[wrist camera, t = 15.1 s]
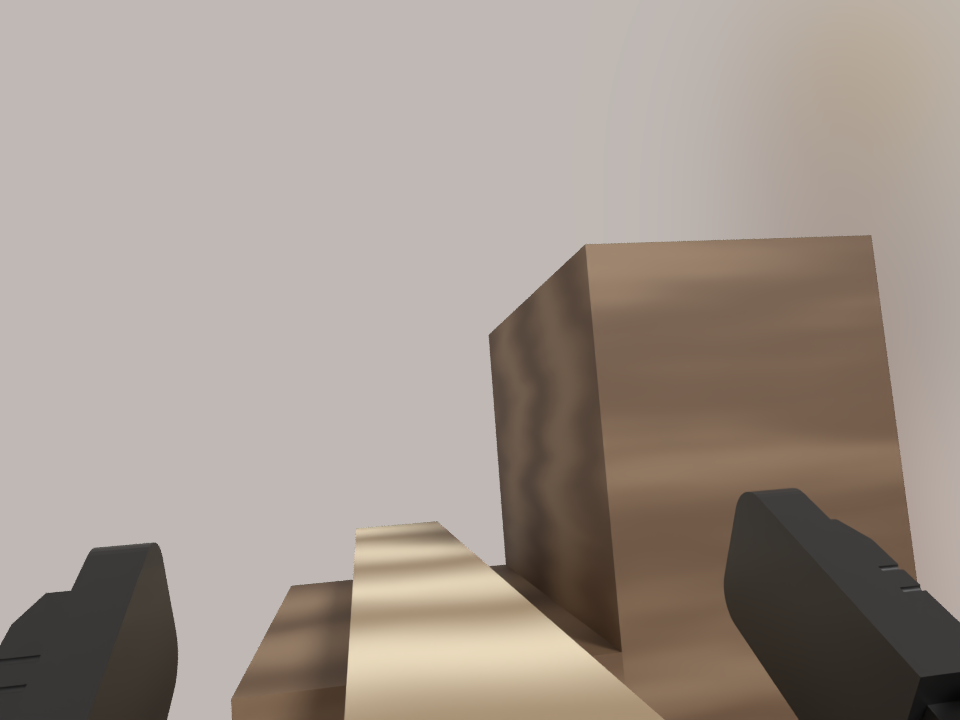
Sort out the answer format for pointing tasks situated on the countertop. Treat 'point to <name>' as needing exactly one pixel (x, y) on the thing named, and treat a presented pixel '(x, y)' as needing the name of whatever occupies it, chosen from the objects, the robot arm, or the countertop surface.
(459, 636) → the maple slat
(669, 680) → the walnut step stand
